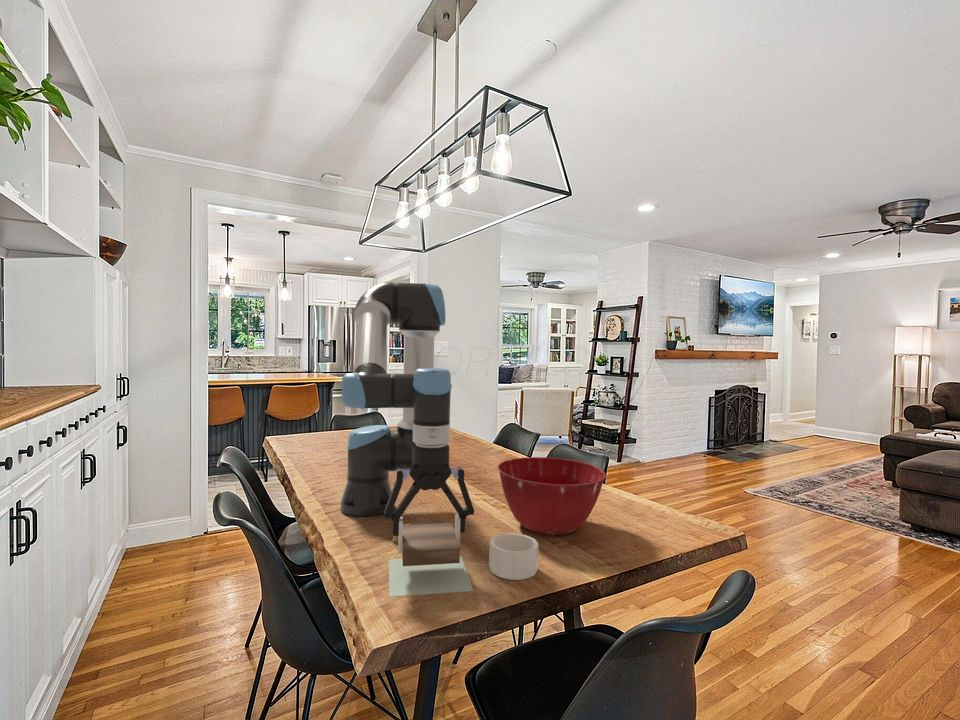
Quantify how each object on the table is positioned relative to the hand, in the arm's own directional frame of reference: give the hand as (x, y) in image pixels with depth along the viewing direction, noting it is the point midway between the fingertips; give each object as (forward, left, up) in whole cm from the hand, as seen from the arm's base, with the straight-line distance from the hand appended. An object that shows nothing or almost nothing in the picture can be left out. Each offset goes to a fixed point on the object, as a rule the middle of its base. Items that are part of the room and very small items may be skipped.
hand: (428, 549), depth 103 cm
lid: (0, 0, 0) cm, 0 cm away
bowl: (0, +18, -5) cm, 19 cm away
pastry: (-20, -3, -6) cm, 21 cm away
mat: (0, 0, -5) cm, 5 cm away
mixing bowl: (-24, +34, -6) cm, 42 cm away
